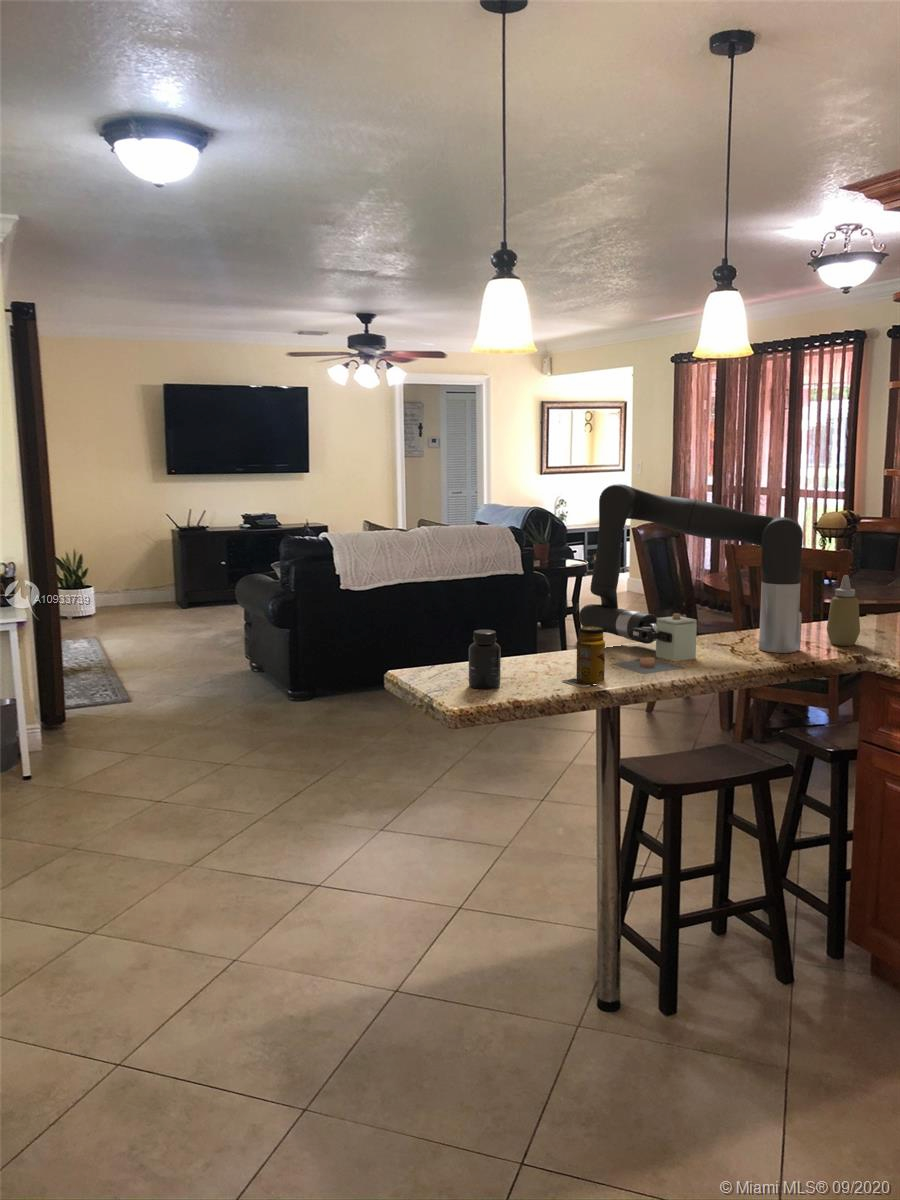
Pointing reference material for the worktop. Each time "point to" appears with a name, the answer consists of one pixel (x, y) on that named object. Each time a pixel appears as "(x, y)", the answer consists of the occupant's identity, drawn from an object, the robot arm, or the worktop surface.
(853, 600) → the squeeze bottle
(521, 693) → the worktop surface
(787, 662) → the worktop surface
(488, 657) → the supplement bottle
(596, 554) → the robot arm
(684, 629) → the lidded square canister
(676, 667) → the mat
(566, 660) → the worktop surface
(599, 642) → the condiment
